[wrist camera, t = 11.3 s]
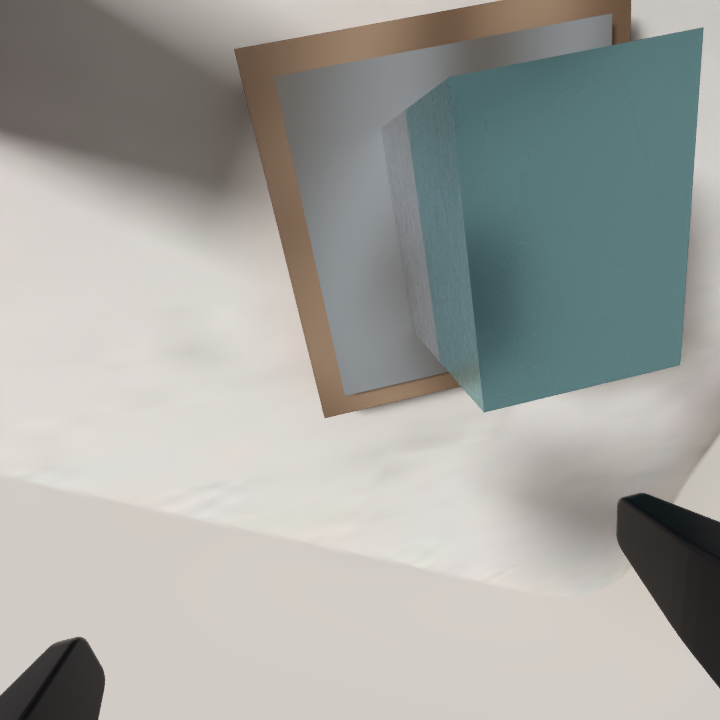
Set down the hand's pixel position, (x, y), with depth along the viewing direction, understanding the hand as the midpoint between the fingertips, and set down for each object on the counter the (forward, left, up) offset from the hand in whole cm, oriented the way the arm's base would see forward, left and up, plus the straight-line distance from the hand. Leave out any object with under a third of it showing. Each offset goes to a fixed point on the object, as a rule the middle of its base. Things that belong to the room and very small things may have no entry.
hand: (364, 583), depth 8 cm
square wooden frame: (-6, -4, -13) cm, 15 cm away
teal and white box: (-6, -4, -10) cm, 13 cm away
